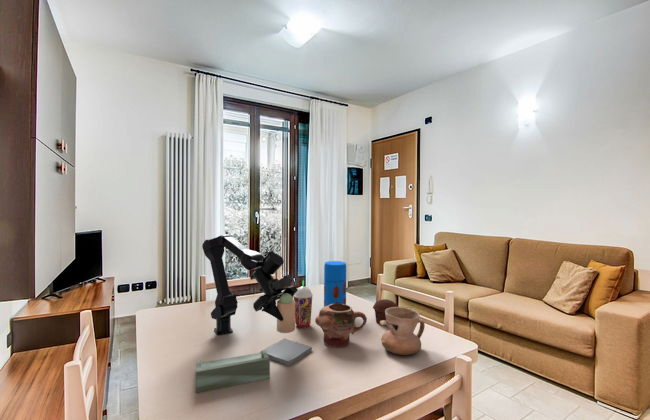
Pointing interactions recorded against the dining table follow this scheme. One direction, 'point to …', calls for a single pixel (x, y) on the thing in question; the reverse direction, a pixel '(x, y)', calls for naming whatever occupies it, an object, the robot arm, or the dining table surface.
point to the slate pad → (287, 351)
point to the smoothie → (303, 306)
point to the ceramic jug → (402, 331)
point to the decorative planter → (338, 323)
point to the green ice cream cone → (286, 314)
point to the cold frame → (232, 371)
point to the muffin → (382, 309)
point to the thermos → (334, 282)
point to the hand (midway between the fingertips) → (288, 317)
